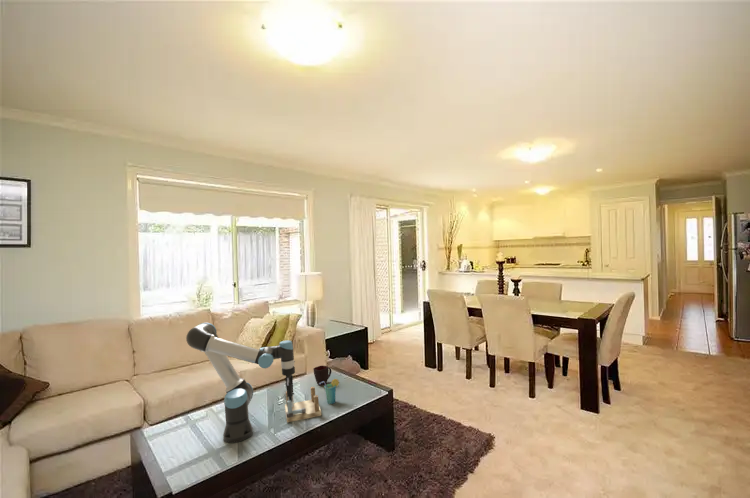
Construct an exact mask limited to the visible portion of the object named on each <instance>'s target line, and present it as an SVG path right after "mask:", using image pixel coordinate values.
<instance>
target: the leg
mask: <svg viewBox="0 0 750 498" xmlns="http://www.w3.org/2000/svg"><path fill="white" fill-rule="evenodd" d="M287 407H288V414H290V413H293V414H298V413H305V412H306V408H302V409H299V410H294V411H292V402H291V400H288V401H287Z"/></svg>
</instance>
